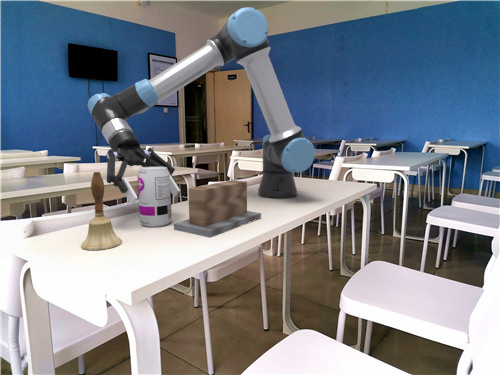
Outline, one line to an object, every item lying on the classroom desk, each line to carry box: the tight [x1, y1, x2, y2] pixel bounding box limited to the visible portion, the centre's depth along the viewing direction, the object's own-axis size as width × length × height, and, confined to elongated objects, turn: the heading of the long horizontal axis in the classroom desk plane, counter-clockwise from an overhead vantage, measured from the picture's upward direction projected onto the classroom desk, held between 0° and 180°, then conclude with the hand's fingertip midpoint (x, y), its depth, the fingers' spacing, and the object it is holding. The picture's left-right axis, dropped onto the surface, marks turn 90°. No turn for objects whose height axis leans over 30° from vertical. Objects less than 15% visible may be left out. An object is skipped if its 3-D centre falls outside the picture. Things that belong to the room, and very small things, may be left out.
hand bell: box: [80, 171, 123, 251], centre depth 75 cm, size 8×8×16 cm
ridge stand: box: [173, 179, 262, 238], centre depth 93 cm, size 22×12×10 cm, turn 145°
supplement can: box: [137, 167, 173, 228], centre depth 92 cm, size 8×8×15 cm
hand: (157, 197), depth 91 cm, fingers open, 13 cm apart
